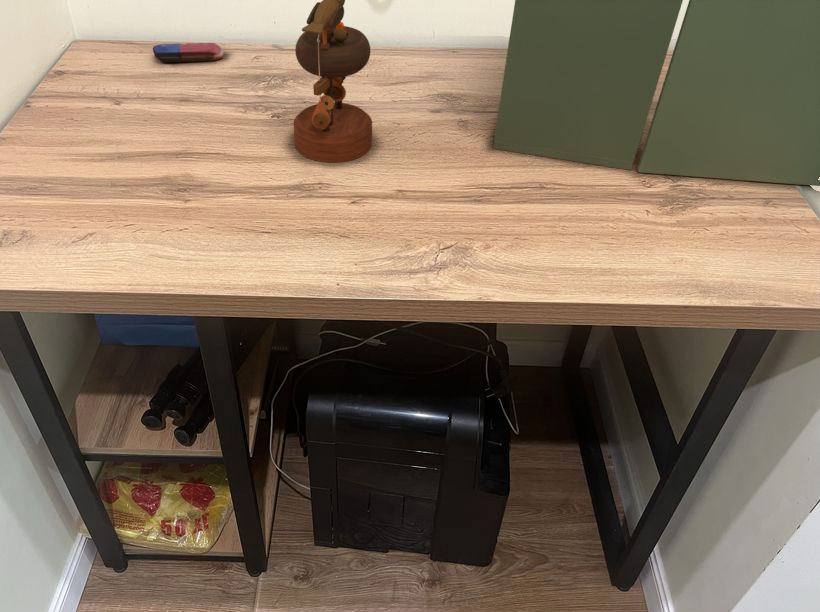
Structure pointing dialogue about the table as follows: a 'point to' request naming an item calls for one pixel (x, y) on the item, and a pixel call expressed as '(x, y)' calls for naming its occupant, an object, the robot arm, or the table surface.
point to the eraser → (188, 52)
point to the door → (741, 94)
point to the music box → (332, 87)
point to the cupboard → (582, 77)
